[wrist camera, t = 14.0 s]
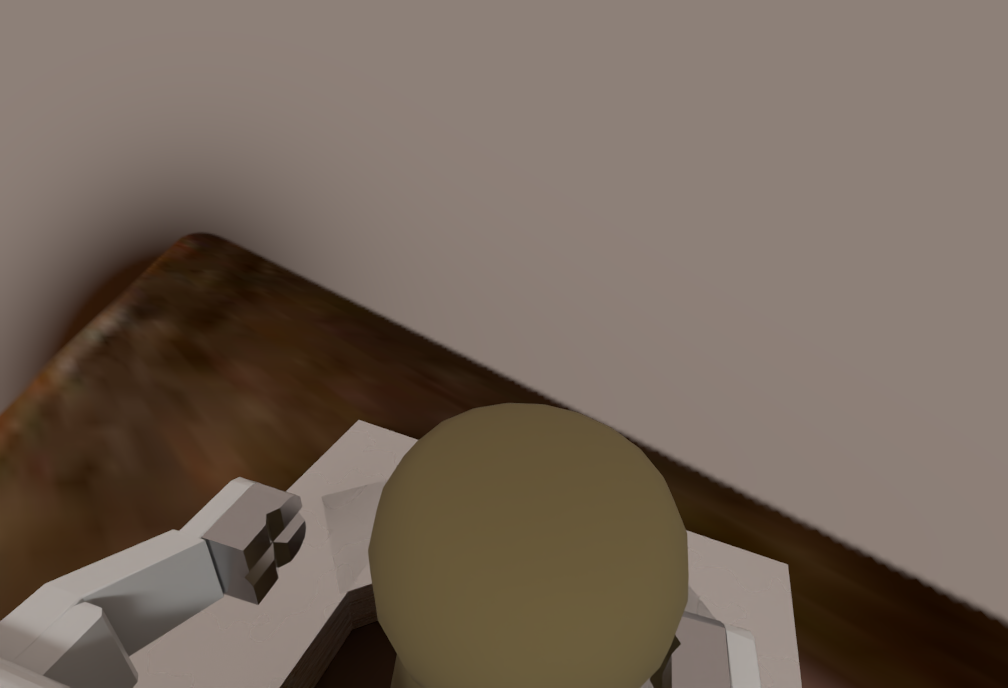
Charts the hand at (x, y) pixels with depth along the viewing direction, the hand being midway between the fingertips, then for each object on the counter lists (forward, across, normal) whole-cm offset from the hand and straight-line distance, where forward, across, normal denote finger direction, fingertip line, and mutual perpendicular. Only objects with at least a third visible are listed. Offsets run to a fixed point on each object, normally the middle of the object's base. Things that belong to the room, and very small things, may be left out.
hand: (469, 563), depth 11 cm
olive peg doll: (-1, -1, +7) cm, 7 cm away
